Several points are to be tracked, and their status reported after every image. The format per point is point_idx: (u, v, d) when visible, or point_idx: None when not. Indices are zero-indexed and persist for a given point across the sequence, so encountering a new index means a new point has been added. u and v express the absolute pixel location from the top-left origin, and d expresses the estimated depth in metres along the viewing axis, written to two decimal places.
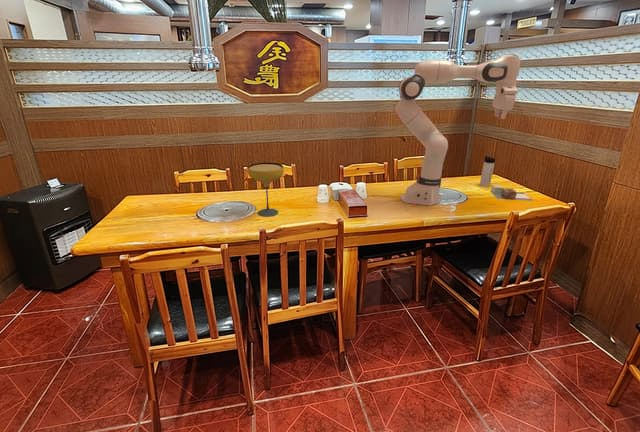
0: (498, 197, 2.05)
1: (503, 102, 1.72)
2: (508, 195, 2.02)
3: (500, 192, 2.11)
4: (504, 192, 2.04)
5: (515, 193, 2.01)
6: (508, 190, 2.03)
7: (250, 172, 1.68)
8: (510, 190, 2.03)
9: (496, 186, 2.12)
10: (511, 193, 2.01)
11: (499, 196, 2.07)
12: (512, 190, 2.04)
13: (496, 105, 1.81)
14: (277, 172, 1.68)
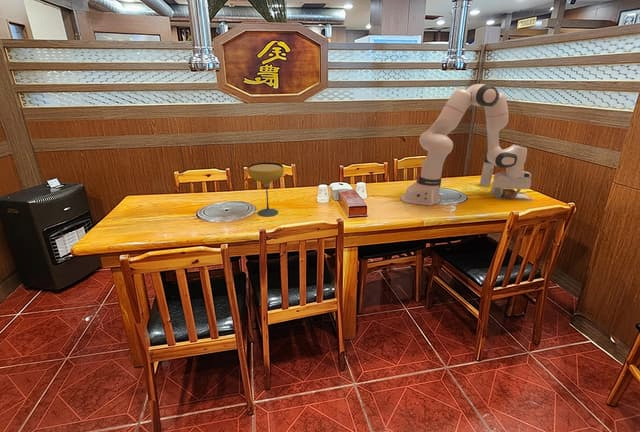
0: (498, 197, 2.05)
1: (524, 183, 1.99)
2: (508, 195, 2.02)
3: (500, 192, 2.11)
4: (504, 192, 2.04)
5: (515, 193, 2.01)
6: (508, 190, 2.03)
7: (250, 172, 1.68)
8: (510, 190, 2.03)
9: None
10: (511, 193, 2.01)
11: (499, 196, 2.07)
12: (512, 190, 2.04)
13: (506, 186, 2.01)
14: (277, 172, 1.68)
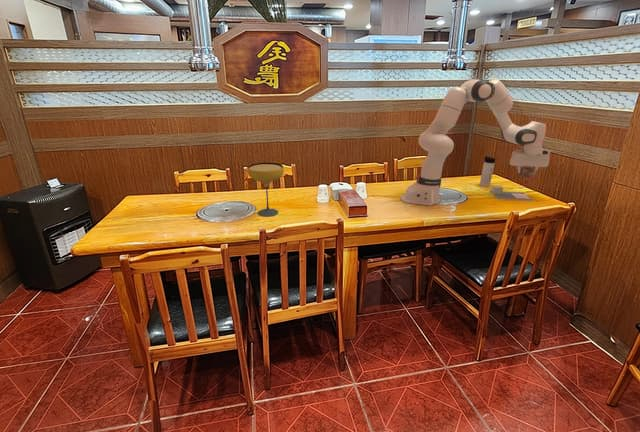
0: (498, 197, 2.05)
1: (542, 160, 1.97)
2: (526, 173, 2.00)
3: (500, 192, 2.11)
4: (522, 170, 2.01)
5: (533, 171, 1.99)
6: (526, 168, 2.01)
7: (250, 172, 1.68)
8: (528, 168, 2.01)
9: (496, 186, 2.12)
10: (529, 171, 1.99)
11: (499, 196, 2.07)
12: (530, 168, 2.01)
13: (524, 164, 1.99)
14: (277, 172, 1.68)
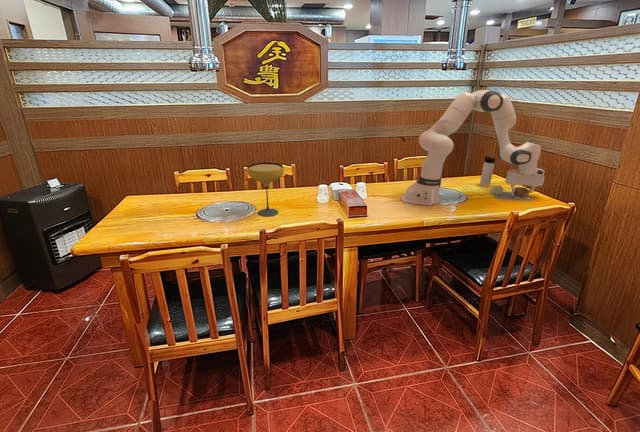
0: (498, 197, 2.05)
1: (537, 180, 2.01)
2: (521, 194, 2.05)
3: (500, 192, 2.11)
4: (517, 191, 2.06)
5: (528, 192, 2.04)
6: (521, 189, 2.06)
7: (250, 172, 1.68)
8: (523, 189, 2.06)
9: (496, 186, 2.12)
10: (524, 192, 2.04)
11: (499, 196, 2.07)
12: (524, 189, 2.06)
13: (519, 183, 2.03)
14: (277, 172, 1.68)
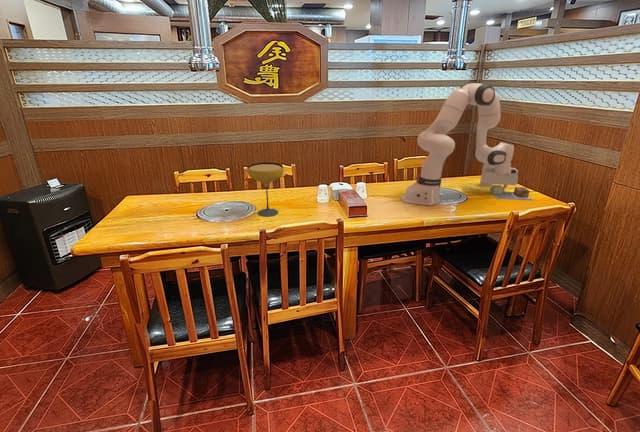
0: (498, 197, 2.05)
1: (511, 179, 2.08)
2: (521, 194, 2.05)
3: (500, 192, 2.11)
4: (517, 191, 2.06)
5: (528, 192, 2.04)
6: (521, 189, 2.06)
7: (250, 172, 1.68)
8: (523, 189, 2.06)
9: (496, 186, 2.12)
10: (524, 192, 2.04)
11: (499, 196, 2.07)
12: (524, 189, 2.06)
13: (494, 182, 2.10)
14: (277, 172, 1.68)
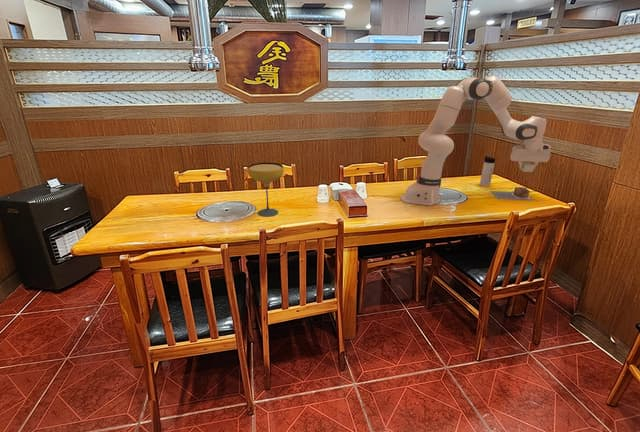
0: (498, 197, 2.05)
1: (543, 155, 1.96)
2: (521, 194, 2.05)
3: (531, 170, 2.00)
4: (517, 191, 2.06)
5: (528, 192, 2.04)
6: (521, 189, 2.06)
7: (250, 172, 1.68)
8: (523, 189, 2.06)
9: (526, 164, 2.00)
10: (524, 192, 2.04)
11: (499, 196, 2.07)
12: (524, 189, 2.06)
13: (525, 159, 1.98)
14: (277, 172, 1.68)
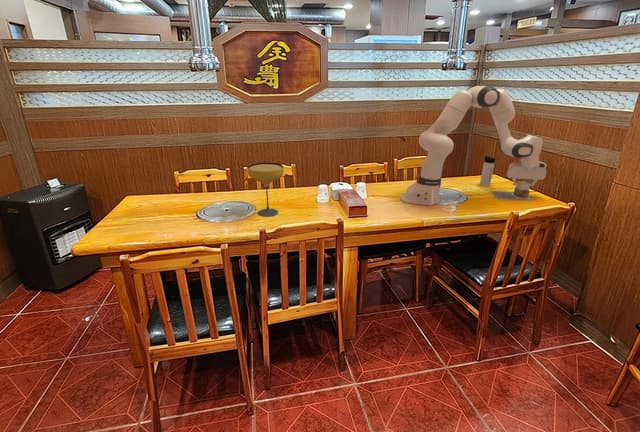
0: (498, 197, 2.05)
1: (539, 173, 2.00)
2: (521, 194, 2.05)
3: (526, 188, 2.03)
4: (517, 191, 2.06)
5: (528, 192, 2.04)
6: None
7: (250, 172, 1.68)
8: None
9: (522, 182, 2.04)
10: (524, 192, 2.04)
11: (499, 196, 2.07)
12: None
13: (521, 176, 2.02)
14: (277, 172, 1.68)
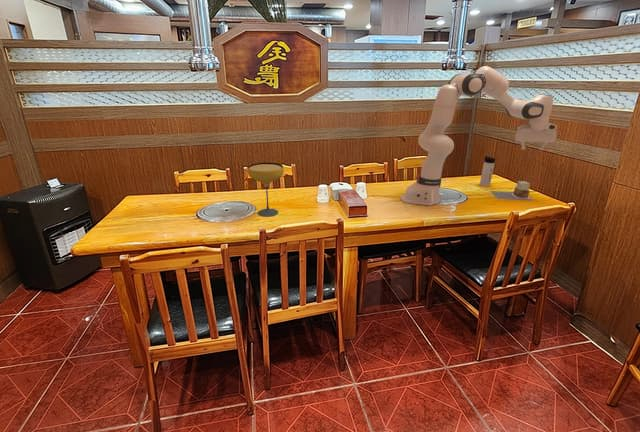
0: (498, 197, 2.05)
1: (549, 136, 1.92)
2: (521, 194, 2.05)
3: (526, 188, 2.03)
4: (517, 191, 2.06)
5: (528, 192, 2.04)
6: None
7: (250, 172, 1.68)
8: None
9: (522, 182, 2.04)
10: (524, 192, 2.04)
11: (499, 196, 2.07)
12: None
13: (530, 139, 1.94)
14: (277, 172, 1.68)
